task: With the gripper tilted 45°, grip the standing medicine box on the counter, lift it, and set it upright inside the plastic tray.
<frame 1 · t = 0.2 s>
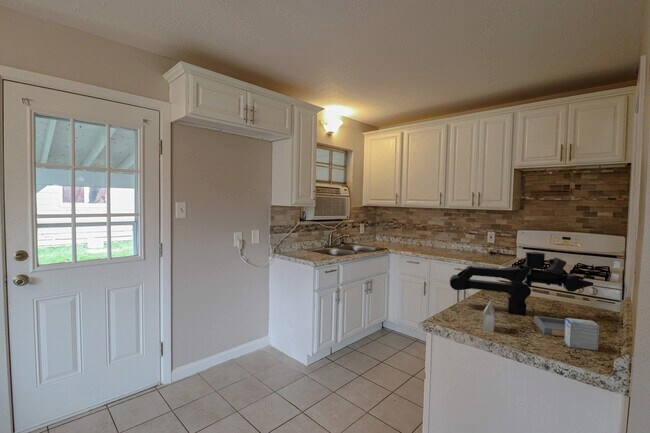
hand: (588, 281, 129), 17 cm above the countertop, tool horizontal, fingers open, 9 cm apart
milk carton: (488, 328, 121), on the countertop
tray: (555, 329, 120), on the countertop
medicine box: (580, 347, 106), on the countertop
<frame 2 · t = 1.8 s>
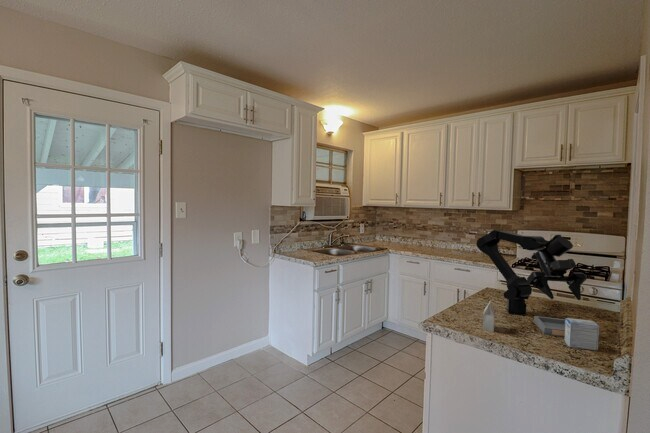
hand: (566, 299, 114), 14 cm above the countertop, tool tilted 45°, fingers open, 9 cm apart
nothing on the countertop moved.
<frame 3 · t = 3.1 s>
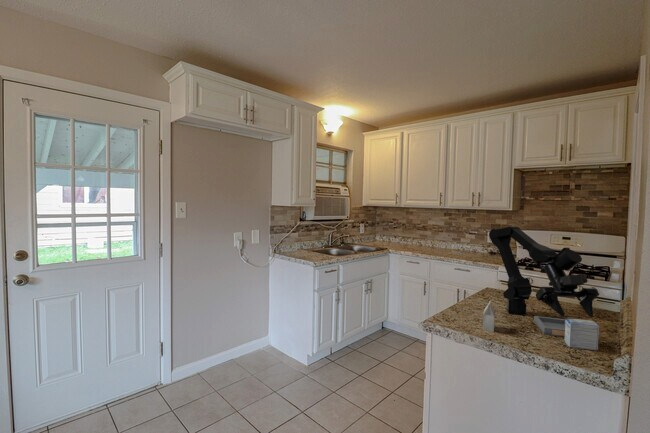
hand: (577, 316, 108), 9 cm above the countertop, tool tilted 45°, fingers open, 9 cm apart
nothing on the countertop moved.
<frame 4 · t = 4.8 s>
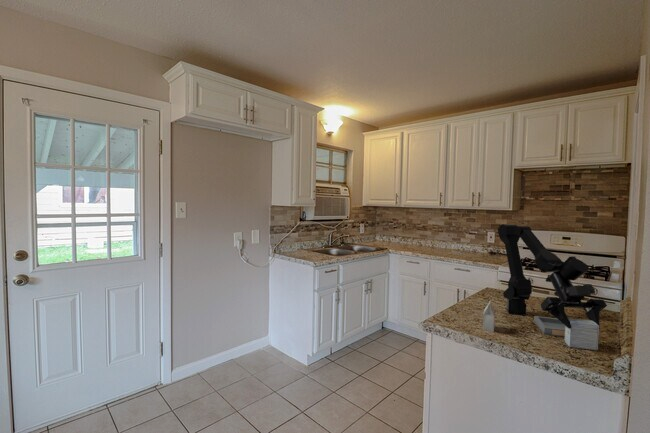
hand: (584, 328, 105), 7 cm above the countertop, tool tilted 45°, fingers closed on medicine box, 8 cm apart
medicine box: (580, 346, 106), on the countertop, touching gripper
everything else where it was.
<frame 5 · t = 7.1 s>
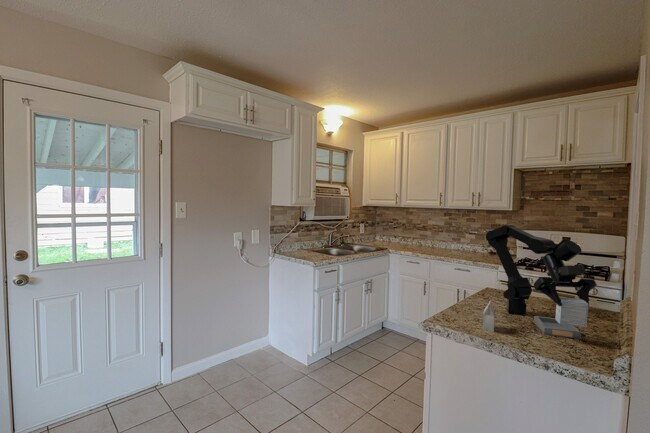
hand: (574, 306, 110), 12 cm above the countertop, tool tilted 45°, fingers closed on medicine box, 8 cm apart
medicine box: (570, 324, 111), point 5 cm above the countertop, touching gripper
everything else where it was.
when the fingers open (9 cm above the countertop, at t = 9.4 s): medicine box drops 1 cm, resting on tray.
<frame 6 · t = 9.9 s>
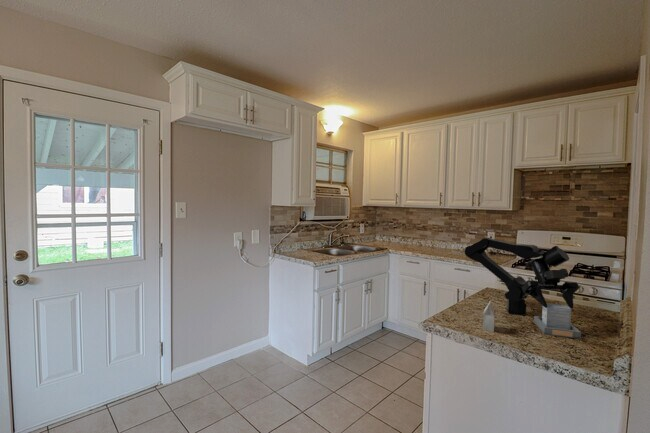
hand: (559, 307, 118), 9 cm above the countertop, tool tilted 45°, fingers open, 9 cm apart
medicine box: (555, 328, 120), point 1 cm above the countertop, touching tray
everything else where it was.
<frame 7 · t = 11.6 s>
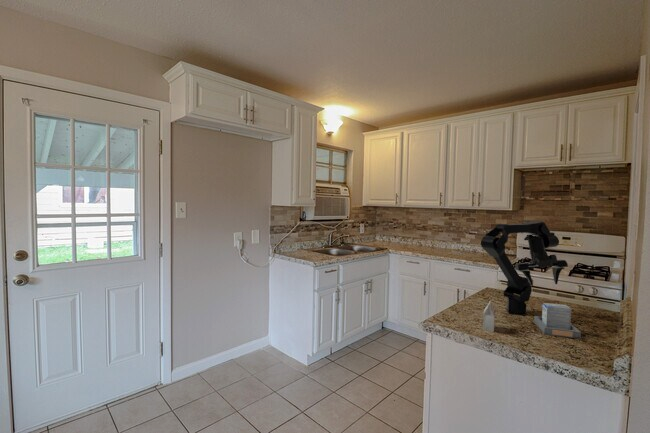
hand: (544, 284, 139), 12 cm above the countertop, tool pointing down, fingers open, 9 cm apart
nothing on the countertop moved.
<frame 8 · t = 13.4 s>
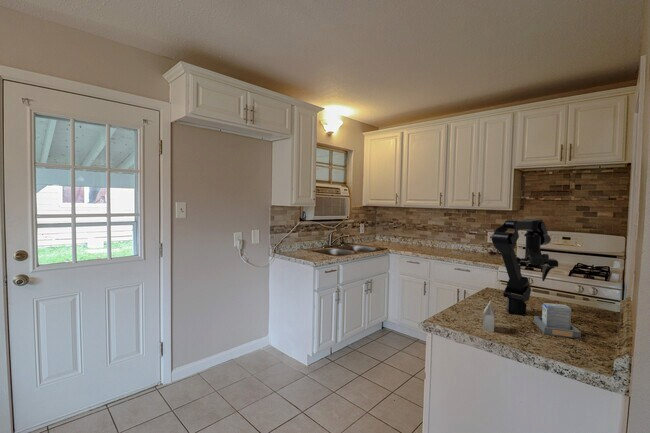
hand: (531, 279, 145), 13 cm above the countertop, tool pointing down, fingers open, 9 cm apart
nothing on the countertop moved.
at the end: medicine box inside the target area on the tray (0.1 cm from its centre), point 0.6 cm above the tray's base; medicine box tilted 0°; the gripper is holding nothing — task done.
